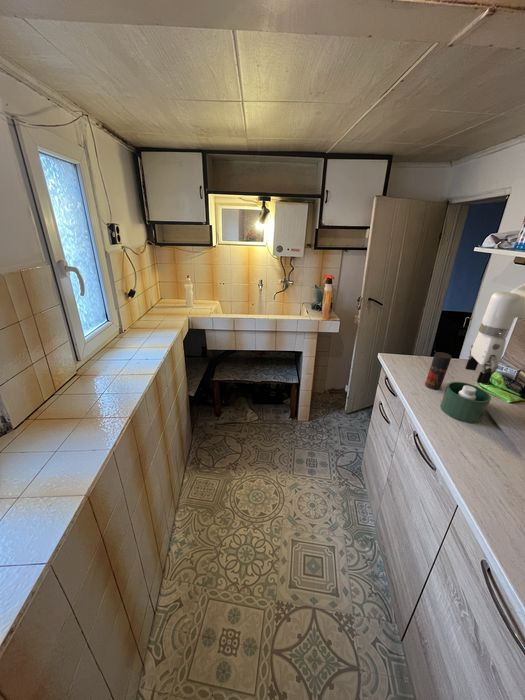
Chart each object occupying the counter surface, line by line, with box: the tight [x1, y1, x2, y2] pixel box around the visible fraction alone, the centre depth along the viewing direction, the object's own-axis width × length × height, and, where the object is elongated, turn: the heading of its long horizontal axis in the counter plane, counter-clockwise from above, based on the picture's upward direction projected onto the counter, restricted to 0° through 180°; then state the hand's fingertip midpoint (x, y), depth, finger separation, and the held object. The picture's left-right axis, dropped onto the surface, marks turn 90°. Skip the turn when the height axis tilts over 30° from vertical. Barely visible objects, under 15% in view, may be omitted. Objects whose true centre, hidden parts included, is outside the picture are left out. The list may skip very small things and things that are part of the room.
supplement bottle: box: [458, 385, 476, 401], centre depth 103 cm, size 5×5×10 cm
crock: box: [439, 381, 492, 424], centre depth 104 cm, size 13×13×9 cm
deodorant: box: [424, 351, 452, 391], centre depth 118 cm, size 6×6×15 cm
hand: (475, 375), depth 99 cm, fingers open, 9 cm apart
